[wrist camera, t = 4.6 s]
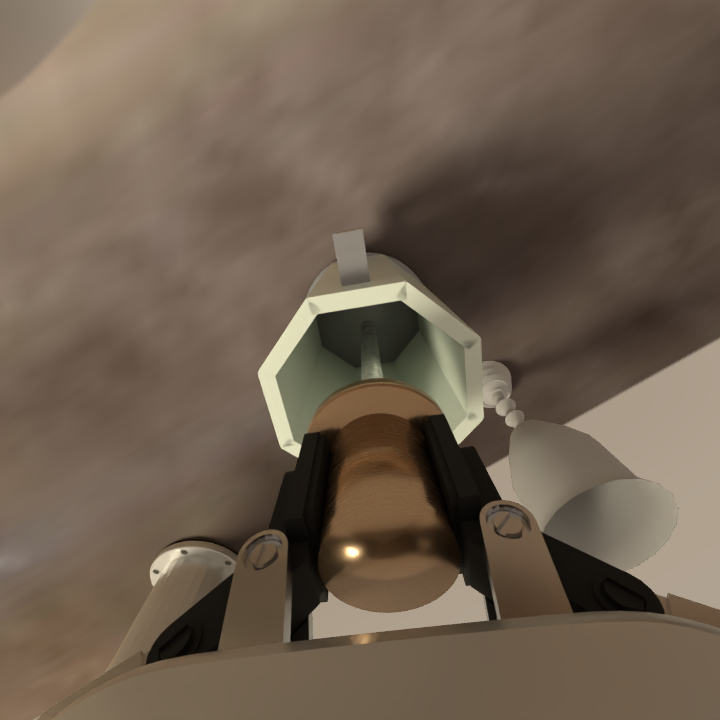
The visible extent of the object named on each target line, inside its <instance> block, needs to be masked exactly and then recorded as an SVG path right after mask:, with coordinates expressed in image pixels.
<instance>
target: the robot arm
mask: <svg viewBox="0 0 720 720" xmlns="http://www.w3.org/2000/svg"><path fill="white" fill-rule="evenodd" d="M424 429H425V438H426V444H427V447H428V450H429V454H430V457H431V460H432V463H433V467H434V470H435V473H436V476H437V479H438V483H439V486H440V489H441V492H442V495H443V499H444V502H445V505H446V508H447V512H448V515H449V518H450V521H451V524H452V528H453V531H454V533H455V536H456V539H457V543H458V546H459V549H460V553H461V568H460V572H459V574H463V577H464V581H465V584H466V586H468V585H471V587H473V588H474V589H476V590H477V591H479V592H480V593H481V594H483V599H484V605H485V610H486V616H487V621H481V622H471V623H461V624H452V625H442V626H433V627H423V628H413V629H404V630H396V631H385V632H376V633H367V634H358V635H349V636H340V637H330V638H322V639H313V616H312V611H313V610H314V609H315V608H316V607H317V606H318V605H319V604H320V602H327V601H328V589H327V588H326V587H325V585H324V583H323V582H322V580H321V577H320V575H319V570H318V557H319V549H320V540H321V532H322V524H323V515H324V507H325V499H326V491H327V482H328V474H329V466H330V458H331V453H330V449H329V445H328V441H327V437H326V435H321V433H320V432H313V433H306V434H304V437H303V441H302V445H301V449H300V453H299V457H298V460H297V464H296V468H295V471H290V472H286V473H285V476H284V479H283V482H282V485H281V489H280V492H279V495H278V499H277V502H276V506H275V509H274V512H273V516H272V519H271V522H270V526H269V529H268V530H265V531H262V532H260V533H257V534H256V535H254V536H253V537H251V538H250V539H249V540H248V541H247V542H246V543H245V544H244V545H243V546H242V548H241V549H240V551H239V554H238V556H237V555H236V554H235V553H233V552H232V551H230V550H229V549H227V548H224V547H222V546H220V545H217V544H214V543H210V542H205V541H183V542H179V543H175V544H173V545H170V546H168V547H166V548H165V549H164V550H162V551H161V552H160V553H159V554H158V556H157V557H156V559H155V560H154V562H153V564H152V566H151V569H150V579H151V582H152V585H153V586H154V587H153V589H152V591H151V592H150V594H149V596H148V598H147V599H146V601H145V603H144V605H143V607H142V608H141V610H140V612H139V614H138V615H137V617H136V619H135V621H134V622H133V624H132V626H131V628H130V629H129V631H128V633H127V635H126V636H125V638H124V640H123V642H122V644H121V645H120V647H119V649H118V651H117V652H116V654H115V656H114V658H113V659H112V661H111V663H110V665H109V666H108V668H107V670H106V672H105V673H104V674H103V675H101V676H99V677H98V678H96V679H95V680H93V681H91V682H90V683H88V684H87V685H85V686H83V687H82V688H80V689H79V690H77V691H75V692H74V693H72V694H71V695H69V696H67V697H66V698H64V699H63V700H61V701H59V702H58V703H56V704H55V705H53V706H52V707H51V708H50V709H48V710H47V711H46V712H44V713H43V714H42V715H41V716H40V717H39V718H38V719H37V720H720V610H719V609H715V608H712V607H709V606H706V605H703V604H700V603H697V602H694V601H691V600H688V599H684V598H682V597H678V596H676V595H672V594H669V593H668V594H667V598H666V597H663V596H659V595H657V594H655V593H654V592H653V591H652V590H651V589H650V588H649V587H648V586H647V585H645V584H644V583H643V582H642V581H641V580H639V579H637V578H636V577H634V576H632V575H631V574H629V573H627V572H625V571H623V570H620V569H618V568H616V567H614V566H612V565H610V564H608V563H606V562H604V561H602V560H600V559H597V558H595V557H593V556H591V555H589V554H587V553H585V552H583V551H581V550H579V549H576V548H574V547H572V546H570V545H568V544H566V543H564V542H562V541H560V540H558V539H555V538H553V537H551V536H549V535H547V534H545V533H543V532H541V531H540V528H539V526H538V523H537V521H536V519H535V517H534V516H533V514H532V513H531V512H530V511H529V510H528V509H527V508H525V507H523V506H522V505H520V504H518V503H515V502H511V501H505V500H502V499H501V497H500V495H499V493H498V491H497V489H496V487H495V486H494V484H493V482H492V480H491V478H490V476H489V474H488V472H487V470H486V468H485V466H484V464H483V462H482V461H481V459H480V457H479V455H478V453H477V451H476V449H475V448H474V447H473V446H471V447H464V448H459V446H458V443H457V441H456V439H455V437H454V434H453V432H452V430H451V428H450V426H449V423H448V421H447V419H446V417H445V415H444V414H438V415H431V416H429V420H424Z"/></svg>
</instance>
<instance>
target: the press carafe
mask: <svg viewBox="0 0 720 720" xmlns="http://www.w3.org/2000/svg"><path fill="white" fill-rule="evenodd" d="M332 236H333V241H334V247H335V252H336V257H337V260H336V261H334V262H333V263H331V264H330V265H329V266H327V267H326V268H325V269H324V270H323V271H322V272H321V273H320V274H319V275H318V277H317V278H316V279H315V281H314V282H313V284H312V286H311V287H310V289H309V292H308V294H307V297H306V299H305V301H304V302H303V304H302V306H301V307H300V309H299V310H298V312H297V313H296V315H295V316H294V318H293V319H292V321H291V322H290V324H289V325H288V327H287V328H286V330H285V331H284V333H283V334H282V336H281V338H280V339H279V341H278V342H277V344H276V345H275V347H274V348H273V350H272V351H271V353H270V354H269V356H268V357H267V359H266V360H265V362H264V363H263V365H262V366H261V368H260V370H259V371H258V376H259V379H260V383H261V386H262V389H263V392H264V396H265V399H266V402H267V405H268V409H269V412H270V415H271V418H272V422H273V425H274V428H275V431H276V435H277V438H278V441H279V444H280V447H281V448H282V449H283V450H285V451H287V452H289V453H291V454H292V455H294V456H296V457H299V453H300V449H301V445H302V441H303V437H304V434H306V433H307V432H308V428H309V425H310V421H311V419H312V417H313V415H314V413H315V411H316V410H317V408H318V407H319V405H320V404H321V403H322V402H323V401H324V400H325V399H326V398H327V397H328V396H329V395H331V394H332V393H333V392H335V391H336V390H338V389H339V388H341V387H343V386H346V385H348V384H350V383H353V382H356V381H360V380H362V367H361V324H362V323H363V322H364V321H366V320H370V321H372V322H373V323H374V325H375V330H376V337H377V343H378V349H379V355H380V361H381V367H382V374H383V378H388V379H395V380H400V381H403V382H407V383H409V384H412V385H414V386H416V387H418V388H420V389H421V390H423V391H424V392H426V393H427V394H428V395H430V396H431V397H432V398H433V399H434V400H435V401H436V402H437V404H438V405H439V407H440V408H441V409H442V411H443V413H444V415H445V417H446V419H447V421H448V423H449V426H450V428H451V430H452V432H453V434H454V437H455V439H456V441H457V443H458V445H459V444H460V443H461V442H462V441H463V440H464V438H465V437H466V436H467V435H468V434H469V433H470V432H471V431H472V430H473V429H474V428H475V427H476V426H477V425H478V424H479V423H480V422H481V421H482V420H483V418H484V411H483V381H482V351H481V338H480V336H479V335H478V334H476V333H475V332H474V331H473V330H472V329H471V328H470V327H469V326H468V325H467V324H466V323H464V322H463V321H462V320H461V319H460V318H459V317H458V316H457V315H456V314H455V313H454V312H452V311H451V310H450V309H449V308H448V307H447V306H446V305H445V304H444V303H443V302H442V301H440V300H439V299H438V298H437V297H436V296H435V295H434V294H433V293H432V292H431V291H429V290H428V289H427V288H426V287H425V286H424V285H423V284H422V283H421V281H420V280H419V278H418V277H417V276H416V275H415V274H414V272H413V271H412V270H410V269H409V268H408V267H407V266H406V265H405V264H403V263H402V262H400V261H399V260H397V259H395V258H393V257H390V256H387V255H384V254H380V253H375V252H366V250H365V243H364V237H363V230H362V228H357V229H351V230H345V231H341V232H338V233H335V234H332Z"/></svg>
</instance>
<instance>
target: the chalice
mask: <svg viewBox="0 0 720 720" xmlns="http://www.w3.org/2000/svg"><path fill="white" fill-rule="evenodd" d="M482 381H483V407H486V408H494V407H496V412H497V414H499V415H501V416H506V419H505V422H506V424H507V425H508V426H510V427H514V430H513V431H512V433H511V437H510V449H509V463H510V470H511V478H512V485H513V489H514V491H515V493H516V494H517V496H518V498H519V499H520V501H521V503H522V504H523V506H524V507H525V508H527V509H528V510H529V511H530V512H531V513H532V514H533V516H534V517H535V519H536V521H537V523H538V526H539V528H540V531H541V532H543V533H545V534H547V535H549V536H551V537H553V538H555V539H558V540H560V541H562V542H564V543H566V544H568V545H570V546H572V547H574V548H576V549H579V550H581V551H583V552H585V553H587V554H589V555H591V556H593V557H595V558H597V559H600V560H602V561H604V562H606V563H608V564H610V565H612V566H614V567H616V568H618V569H620V570H623V571H627V570H629V569H632V568H634V567H636V566H638V565H640V564H641V563H643V562H644V561H645V560H647V559H648V558H650V557H651V556H653V555H654V554H656V552H658V550H659V549H660V548H661V547H662V546H663V545H664V544H665V543H666V542H667V541H668V539H669V538H670V536H671V534H672V532H673V530H674V528H675V526H676V525H677V517H678V506H677V503H676V501H675V498H674V496H673V494H672V493H671V492H669V491H668V490H667V489H665V488H664V487H663V486H662V485H660V484H658V483H655V482H651V481H648V480H645V479H642V478H638V477H637V476H635V475H634V474H633V473H632V472H631V471H630V470H629V469H628V468H627V467H625V466H624V465H623V464H622V463H621V462H620V461H619V460H618V459H616V458H615V457H614V456H613V455H612V454H611V453H610V452H609V451H607V449H605V448H604V447H603V446H602V445H601V444H600V443H599V442H598V441H596V440H595V439H594V438H592V437H591V436H590V435H588V434H585V433H582V432H580V431H577V430H575V429H572V428H569V427H567V426H563V425H560V424H556V423H551V422H546V421H540V420H535V419H533V420H526V421H525V420H524V418H525V416H524V413H523V412H522V411H520V410H515V407H516V403H515V401H514V400H512V399H510V398H509V397H510V395H511V392H512V383H511V374H510V372H509V370H508V368H507V367H506V366H505V365H503V364H502V363H500V362H497V361H484V362H482Z"/></svg>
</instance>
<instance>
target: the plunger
mask: <svg viewBox="0 0 720 720" xmlns="http://www.w3.org/2000/svg"><path fill="white" fill-rule="evenodd" d="M361 367H362V380H360V381H356V382H353V383H350V384H348V385H346V386H343V387H341V388H339V389H338V390H336V391H335V392H333V393H332V394H331V395H329V396H328V397H327V398H326V399H325V400H324V401H323V402H322V403H321V404H320V405H319V407H318V408H317V410H316V411H315V413H314V415H313V417H312V419H311V421H310V425H309V428H308V432H307V433H313V432H320V433H321V435H326V437H327V441H328V445H329V449H330V453H331V458H330V466H329V474H328V482H327V491H326V499H325V507H324V515H323V524H322V532H321V540H320V549H319V557H318V570H319V575H320V577H321V580H322V582H323V583H324V585H325V587H326V588H327V589H328V590H329V591H330V592H331V593H332V594H333V595H334V596H335V597H337V598H338V599H339V600H341V601H343V602H344V603H346V604H348V605H351V606H353V607H356V608H359V609H362V610H367V611H372V612H385V613H389V612H390V613H391V612H402V611H408V610H411V609H415V608H418V607H421V606H424V605H426V604H428V603H431V602H432V601H434V600H436V599H437V598H439V597H440V596H442V595H443V594H444V593H445V592H446V591H447V590H448V589H449V588H450V587H451V586H452V585H453V583H454V582H455V580H456V579H457V577H458V574H459V572H460V568H461V553H460V549H459V546H458V543H457V539H456V536H455V533H454V531H453V528H452V524H451V521H450V518H449V515H448V512H447V508H446V505H445V502H444V499H443V495H442V492H441V489H440V486H439V483H438V479H437V476H436V473H435V470H434V467H433V463H432V460H431V457H430V454H429V450H428V447H427V444H426V438H425V429H424V420H429V416H431V415H438V414H444V413H443V411H442V409H441V408H440V407H439V405H438V404H437V402H436V401H435V400H434V399H433V398H432V397H431V396H430V395H428V394H427V393H426V392H424V391H423V390H421V389H420V388H418V387H416V386H414V385H412V384H409V383H407V382H403V381H400V380H395V379H388V378H383V374H382V367H381V361H380V355H379V349H378V343H377V337H376V330H375V325H374V323H373V322H372V321H370V320H366V321H364V322H363V323H362V324H361Z"/></svg>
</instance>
